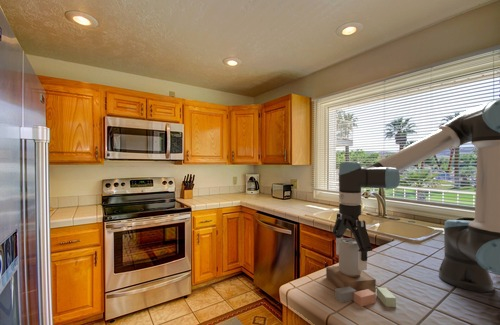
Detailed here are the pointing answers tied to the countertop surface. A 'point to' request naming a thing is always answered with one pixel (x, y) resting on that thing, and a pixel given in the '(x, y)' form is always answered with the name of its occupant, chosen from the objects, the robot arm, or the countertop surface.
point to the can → (348, 257)
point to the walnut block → (350, 279)
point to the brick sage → (386, 297)
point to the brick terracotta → (364, 297)
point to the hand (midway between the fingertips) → (350, 261)
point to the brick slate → (344, 294)
